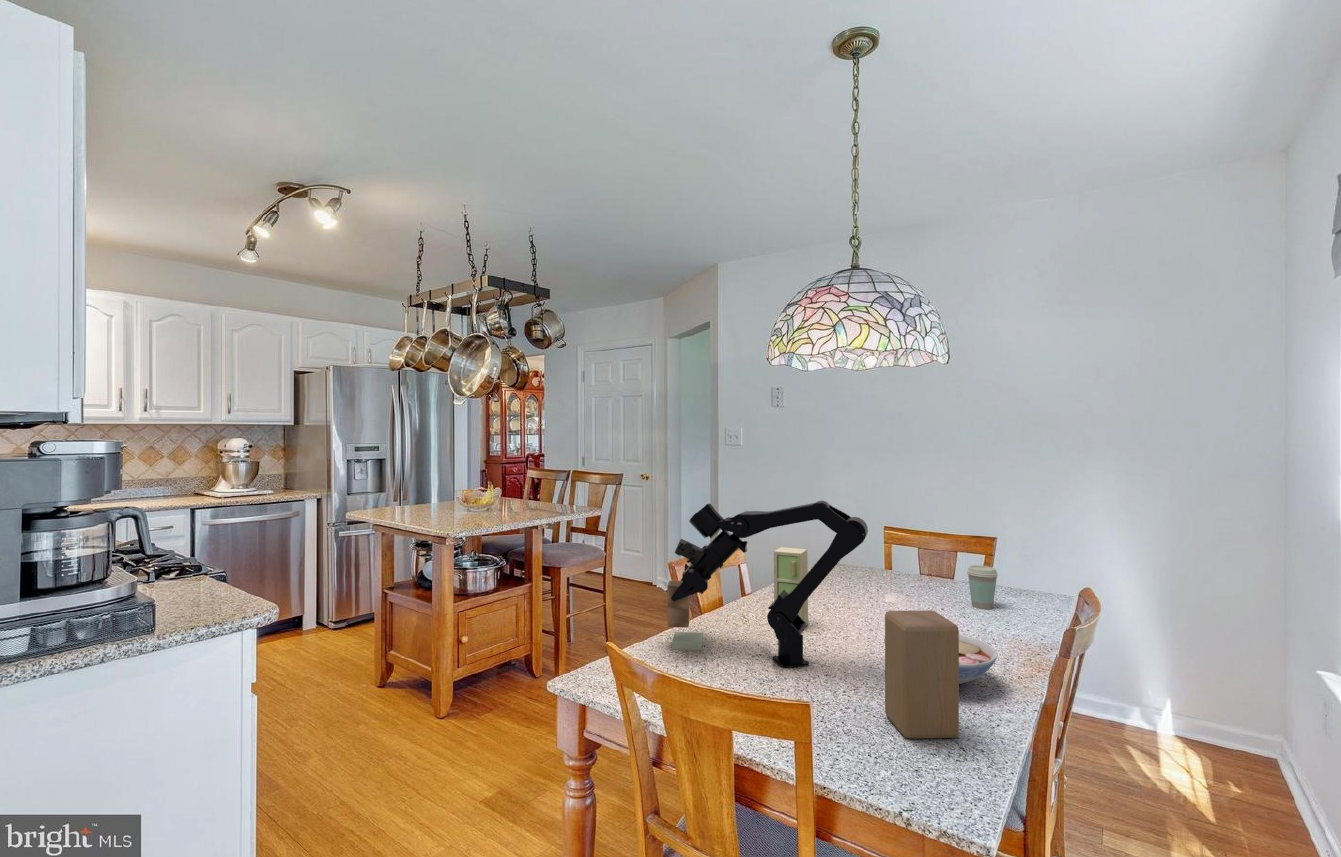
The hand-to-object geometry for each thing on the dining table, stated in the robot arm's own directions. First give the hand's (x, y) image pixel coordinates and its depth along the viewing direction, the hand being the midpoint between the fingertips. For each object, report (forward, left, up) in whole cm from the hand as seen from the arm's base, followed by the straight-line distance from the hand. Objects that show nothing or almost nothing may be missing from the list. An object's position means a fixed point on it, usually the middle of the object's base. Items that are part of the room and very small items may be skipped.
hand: (673, 596), depth 151 cm
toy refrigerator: (+11, -37, -13) cm, 41 cm away
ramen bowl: (-31, -52, -14) cm, 62 cm away
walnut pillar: (0, -1, -7) cm, 7 cm away
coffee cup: (+14, -103, -13) cm, 105 cm away
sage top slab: (0, -4, -12) cm, 13 cm away
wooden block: (-49, -34, -13) cm, 61 cm away
